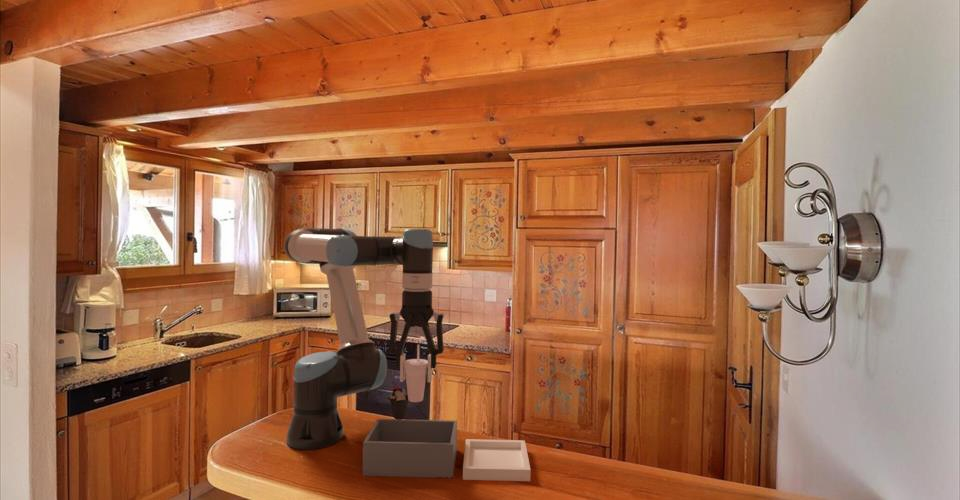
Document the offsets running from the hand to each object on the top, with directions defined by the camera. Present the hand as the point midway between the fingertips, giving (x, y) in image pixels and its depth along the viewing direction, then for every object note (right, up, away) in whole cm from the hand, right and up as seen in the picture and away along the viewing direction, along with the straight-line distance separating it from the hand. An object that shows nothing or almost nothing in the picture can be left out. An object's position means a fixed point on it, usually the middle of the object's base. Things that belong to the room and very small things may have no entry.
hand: (416, 380), depth 115 cm
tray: (+20, -21, 0) cm, 29 cm away
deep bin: (-1, -21, 0) cm, 21 cm away
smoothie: (0, -5, 0) cm, 5 cm away
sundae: (-8, -21, +19) cm, 29 cm away
